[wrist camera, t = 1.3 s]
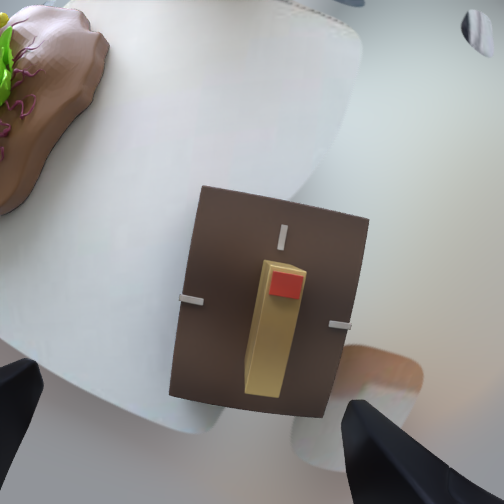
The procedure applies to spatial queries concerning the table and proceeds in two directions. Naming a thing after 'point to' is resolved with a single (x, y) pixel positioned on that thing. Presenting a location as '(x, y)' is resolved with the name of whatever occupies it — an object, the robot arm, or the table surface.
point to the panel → (245, 293)
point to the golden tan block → (273, 327)
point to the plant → (42, 89)
